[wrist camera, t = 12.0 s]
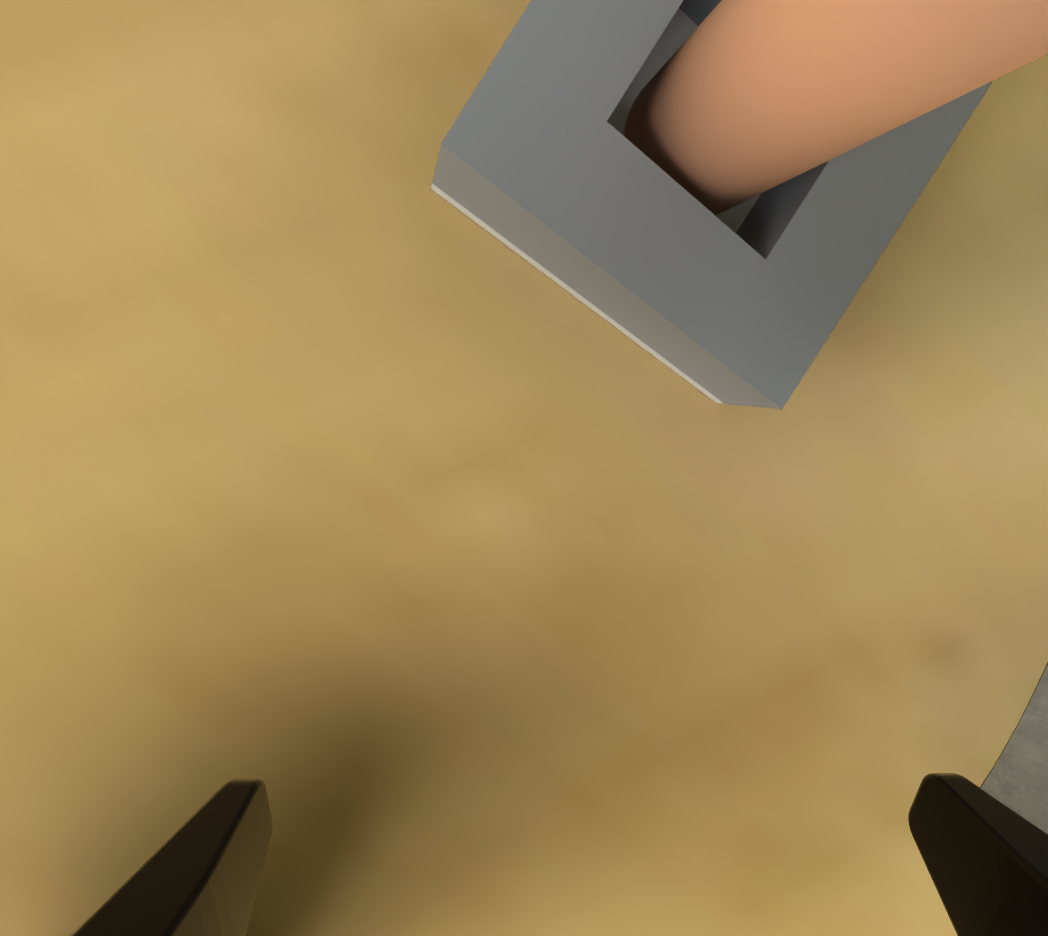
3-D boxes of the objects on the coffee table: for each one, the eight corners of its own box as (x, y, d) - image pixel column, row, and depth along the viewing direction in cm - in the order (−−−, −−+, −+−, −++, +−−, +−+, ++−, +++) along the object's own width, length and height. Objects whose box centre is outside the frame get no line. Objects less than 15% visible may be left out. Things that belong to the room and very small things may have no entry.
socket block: (716, 403, 20) (782, 409, 17) (431, 188, 17) (441, 143, 14) (898, 119, 20) (1001, 68, 17) (643, -150, 17) (706, -280, 14)
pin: (613, 204, 18) (1310, -322, 4) (636, 49, 17) (1519, -1100, 4) (739, 234, 19) (1615, -115, 5) (765, 89, 18) (1812, -701, 5)
